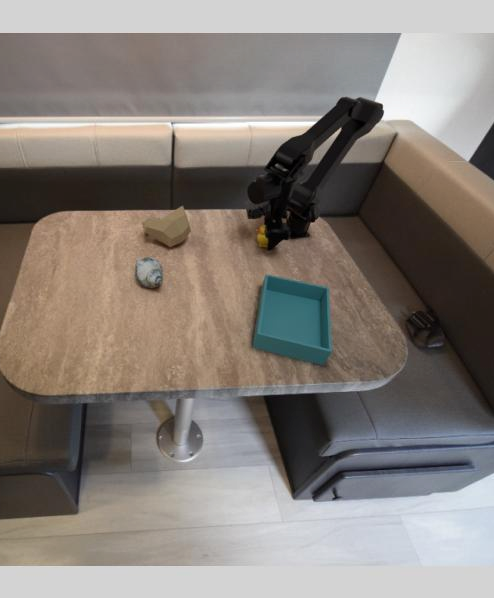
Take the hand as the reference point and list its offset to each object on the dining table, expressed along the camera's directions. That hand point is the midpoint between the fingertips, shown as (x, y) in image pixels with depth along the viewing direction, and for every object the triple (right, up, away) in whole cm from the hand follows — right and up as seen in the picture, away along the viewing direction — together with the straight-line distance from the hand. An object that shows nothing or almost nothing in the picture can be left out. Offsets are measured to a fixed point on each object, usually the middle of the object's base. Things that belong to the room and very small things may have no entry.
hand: (267, 241), depth 105 cm
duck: (0, -1, +1) cm, 1 cm away
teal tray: (-1, -23, -21) cm, 31 cm away
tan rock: (-30, 0, +1) cm, 30 cm away
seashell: (-35, -12, -11) cm, 39 cm away
